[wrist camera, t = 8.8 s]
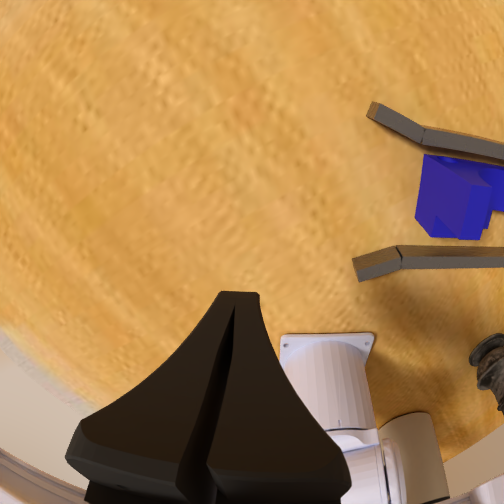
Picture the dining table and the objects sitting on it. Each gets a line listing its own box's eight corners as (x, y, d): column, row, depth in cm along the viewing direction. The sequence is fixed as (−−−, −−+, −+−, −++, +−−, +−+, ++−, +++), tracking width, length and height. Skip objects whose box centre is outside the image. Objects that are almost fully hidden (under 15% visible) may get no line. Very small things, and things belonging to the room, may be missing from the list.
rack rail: (530, 277, 21) (537, 286, 19) (347, 284, 22) (351, 297, 21) (568, 137, 13) (579, 142, 12) (366, 80, 15) (374, 80, 14)
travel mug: (440, 409, 32) (467, 522, 17) (409, 436, 36) (426, 538, 21) (396, 410, 32) (418, 540, 16) (366, 438, 36) (377, 550, 20)
